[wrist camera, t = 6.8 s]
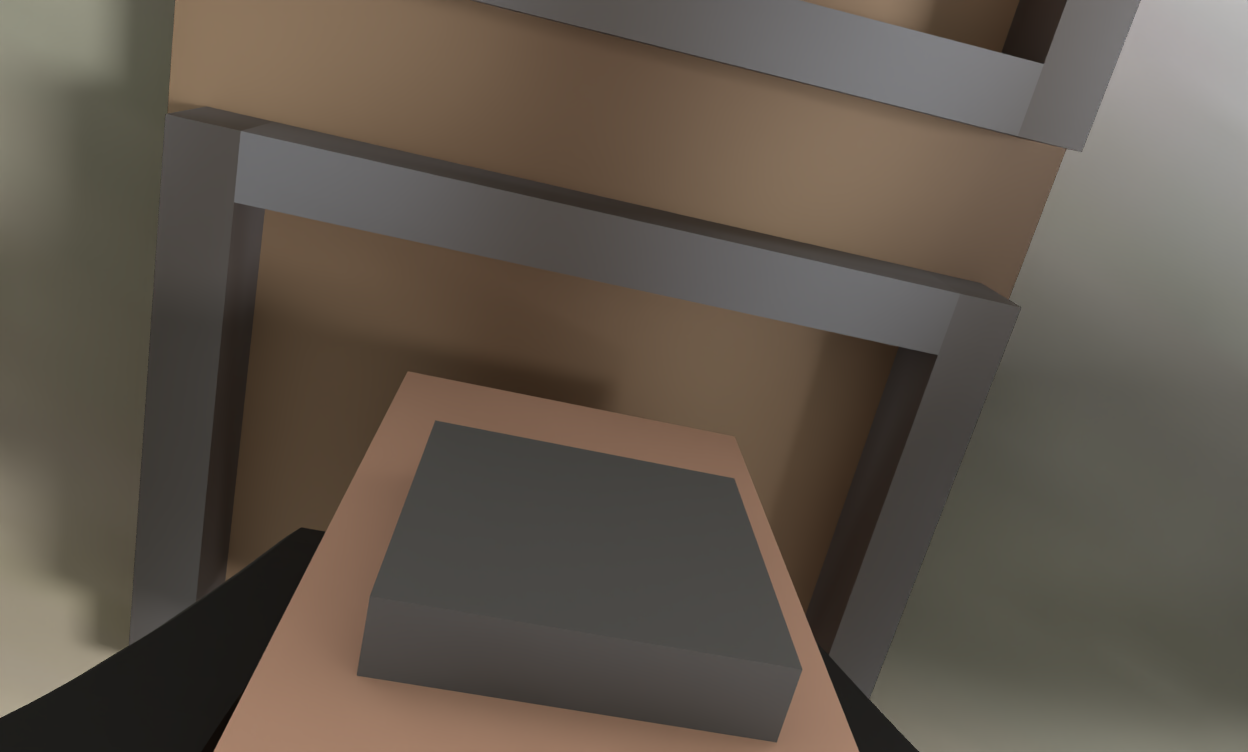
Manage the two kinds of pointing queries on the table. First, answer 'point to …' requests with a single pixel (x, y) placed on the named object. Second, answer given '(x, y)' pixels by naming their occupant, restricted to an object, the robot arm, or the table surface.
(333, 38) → the brown flat tray
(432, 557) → the pinkish brown block
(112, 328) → the table surface
